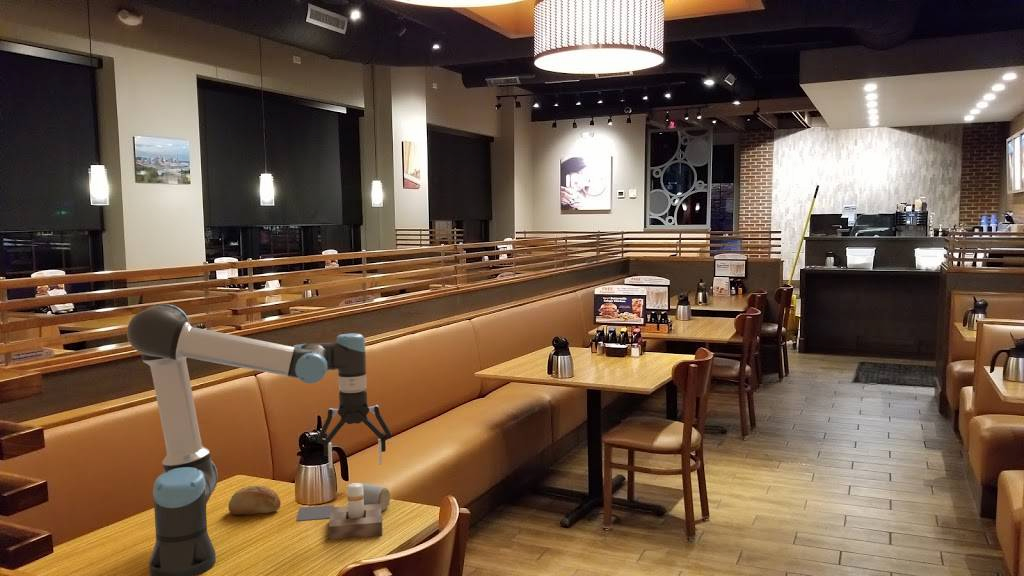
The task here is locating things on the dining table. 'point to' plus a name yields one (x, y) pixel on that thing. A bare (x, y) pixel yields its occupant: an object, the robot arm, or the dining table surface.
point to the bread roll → (254, 500)
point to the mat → (314, 513)
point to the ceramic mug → (376, 495)
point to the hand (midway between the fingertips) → (355, 465)
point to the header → (355, 523)
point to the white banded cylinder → (355, 500)
